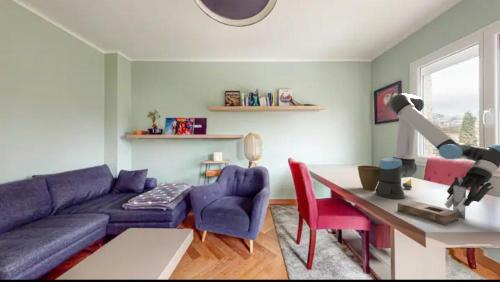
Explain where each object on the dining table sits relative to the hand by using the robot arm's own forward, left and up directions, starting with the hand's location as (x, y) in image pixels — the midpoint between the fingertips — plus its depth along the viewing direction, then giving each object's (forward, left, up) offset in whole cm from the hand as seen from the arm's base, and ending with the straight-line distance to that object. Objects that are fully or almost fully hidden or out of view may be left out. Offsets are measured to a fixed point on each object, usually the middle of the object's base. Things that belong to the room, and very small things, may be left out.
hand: (452, 207), depth 92 cm
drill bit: (-38, +40, -5) cm, 55 cm away
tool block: (-6, -9, -4) cm, 12 cm away
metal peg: (+1, +4, -4) cm, 6 cm away
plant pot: (-48, +13, -4) cm, 50 cm away
